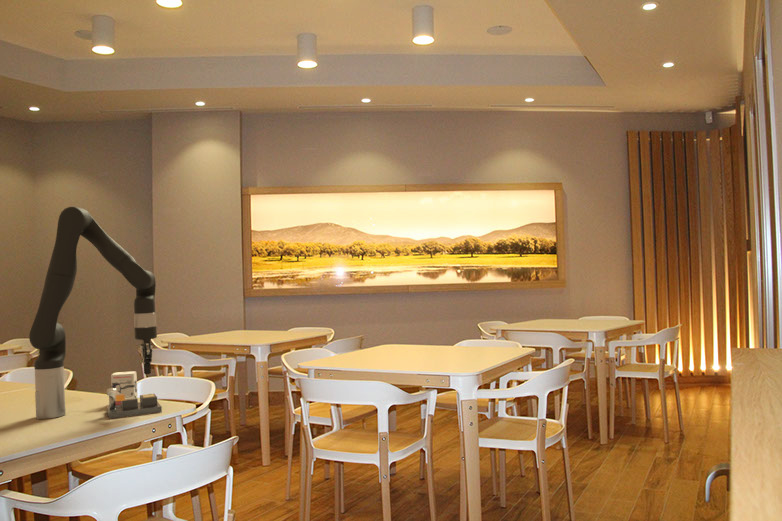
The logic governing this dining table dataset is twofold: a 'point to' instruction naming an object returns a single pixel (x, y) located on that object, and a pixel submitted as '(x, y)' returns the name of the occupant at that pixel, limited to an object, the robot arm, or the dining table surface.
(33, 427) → the dining table surface
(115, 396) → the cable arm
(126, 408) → the dark boxy piece
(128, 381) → the ink box
